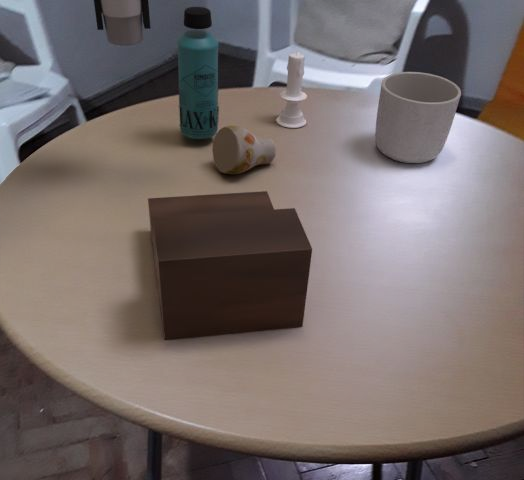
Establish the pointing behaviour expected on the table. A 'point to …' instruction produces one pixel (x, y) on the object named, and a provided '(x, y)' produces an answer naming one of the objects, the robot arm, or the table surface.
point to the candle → (293, 93)
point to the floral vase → (240, 150)
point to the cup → (123, 21)
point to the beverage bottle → (198, 76)
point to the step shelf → (228, 264)
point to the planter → (415, 115)
